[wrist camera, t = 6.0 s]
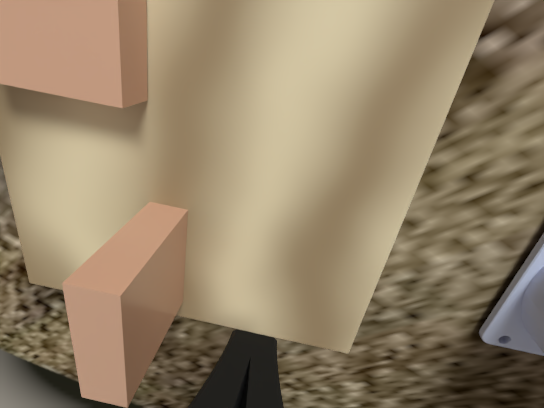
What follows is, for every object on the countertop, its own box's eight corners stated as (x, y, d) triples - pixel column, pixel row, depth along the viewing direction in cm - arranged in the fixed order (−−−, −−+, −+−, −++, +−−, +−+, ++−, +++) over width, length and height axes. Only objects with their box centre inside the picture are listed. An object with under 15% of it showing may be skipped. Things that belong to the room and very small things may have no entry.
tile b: (187, 209, 13) (120, 296, 8) (183, 301, 15) (127, 407, 11) (148, 201, 13) (59, 282, 8) (149, 294, 15) (79, 396, 11)
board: (491, -51, 9) (522, -69, 8) (345, 327, 17) (348, 353, 15) (-20, -142, 10) (-76, -173, 9) (53, 263, 17) (29, 282, 16)
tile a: (112, -112, 7) (-92, -148, 8) (122, 108, 10) (-35, 76, 10) (146, -85, 9) (-25, -116, 9) (148, 100, 11) (11, 73, 11)
